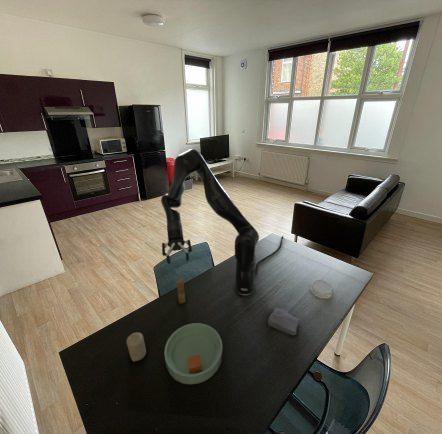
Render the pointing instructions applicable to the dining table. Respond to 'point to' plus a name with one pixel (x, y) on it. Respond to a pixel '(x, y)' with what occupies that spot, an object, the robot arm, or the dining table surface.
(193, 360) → the block
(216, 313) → the dining table surface
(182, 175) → the robot arm
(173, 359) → the bowl
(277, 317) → the stone block
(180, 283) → the stirrer
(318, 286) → the coaster
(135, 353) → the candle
